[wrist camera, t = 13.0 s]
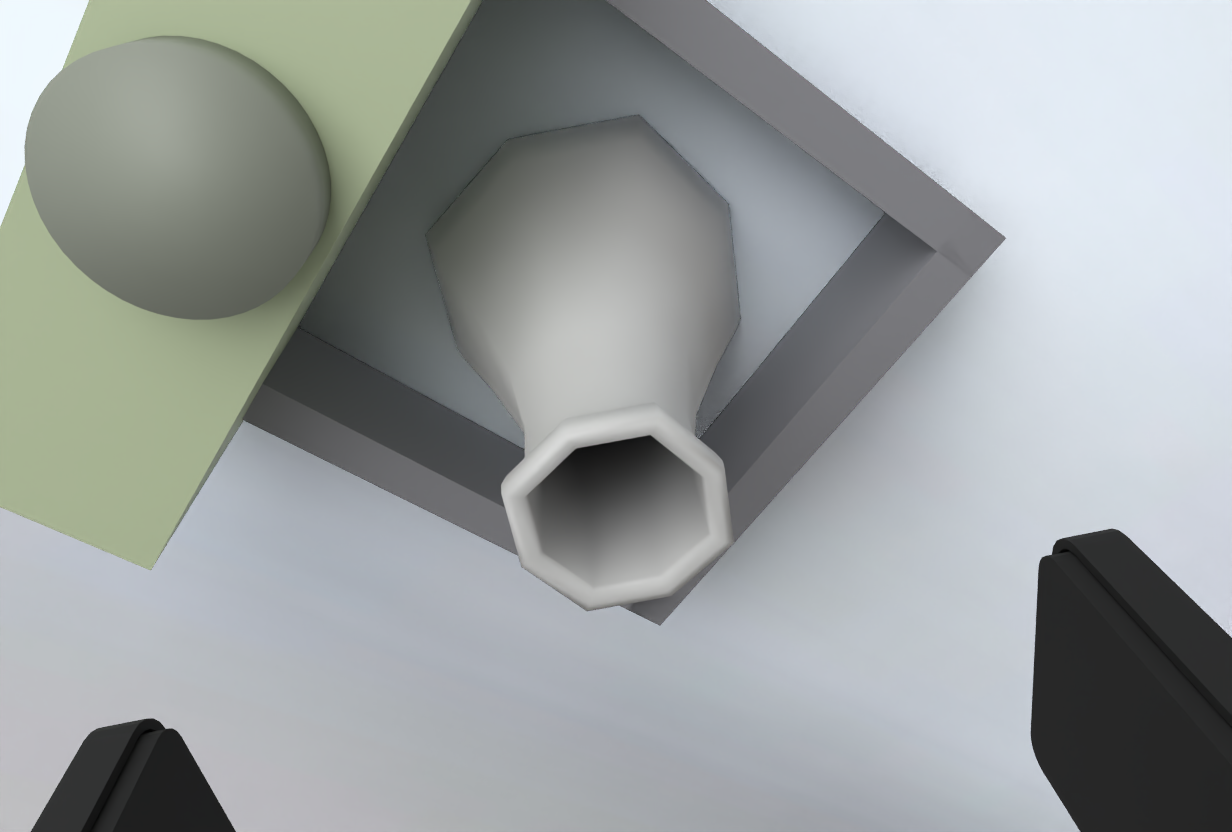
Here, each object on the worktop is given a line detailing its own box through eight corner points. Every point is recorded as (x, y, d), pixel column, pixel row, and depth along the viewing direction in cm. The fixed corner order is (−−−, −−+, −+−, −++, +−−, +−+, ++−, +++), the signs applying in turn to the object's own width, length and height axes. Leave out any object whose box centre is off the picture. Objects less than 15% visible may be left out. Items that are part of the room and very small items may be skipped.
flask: (786, 327, 22) (946, 589, 13) (533, 453, 23) (528, 769, 15) (655, 51, 19) (755, 159, 10) (369, 216, 20) (236, 440, 11)
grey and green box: (978, 162, 20) (1206, 284, 13) (627, 576, 25) (659, 823, 18) (385, -324, 16) (254, -534, 8) (96, 307, 21) (-135, 502, 14)
